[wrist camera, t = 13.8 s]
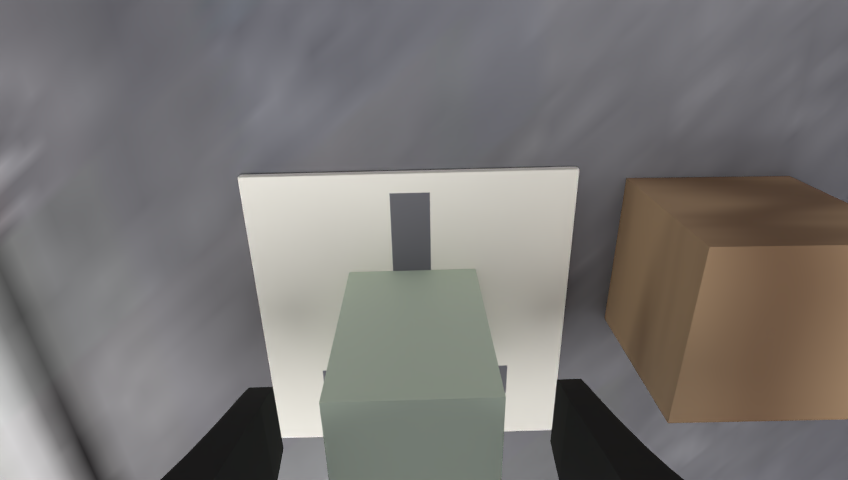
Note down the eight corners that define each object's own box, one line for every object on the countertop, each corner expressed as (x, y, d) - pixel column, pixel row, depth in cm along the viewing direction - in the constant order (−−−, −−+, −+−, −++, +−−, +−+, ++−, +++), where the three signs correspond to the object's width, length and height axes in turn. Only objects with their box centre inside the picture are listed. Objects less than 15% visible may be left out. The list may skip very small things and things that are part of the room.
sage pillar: (475, 268, 17) (505, 397, 11) (473, 370, 18) (498, 526, 13) (349, 272, 17) (318, 402, 11) (358, 374, 18) (335, 531, 13)
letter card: (576, 166, 16) (579, 169, 16) (550, 424, 20) (552, 429, 20) (240, 174, 16) (237, 177, 15) (283, 431, 20) (281, 437, 20)
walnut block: (787, 175, 16) (934, 243, 12) (747, 314, 18) (858, 419, 14) (625, 177, 16) (709, 246, 12) (603, 317, 18) (667, 422, 14)
